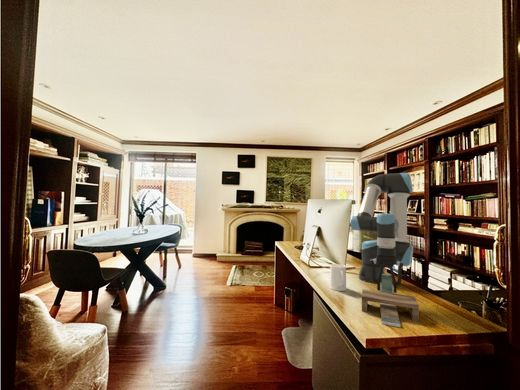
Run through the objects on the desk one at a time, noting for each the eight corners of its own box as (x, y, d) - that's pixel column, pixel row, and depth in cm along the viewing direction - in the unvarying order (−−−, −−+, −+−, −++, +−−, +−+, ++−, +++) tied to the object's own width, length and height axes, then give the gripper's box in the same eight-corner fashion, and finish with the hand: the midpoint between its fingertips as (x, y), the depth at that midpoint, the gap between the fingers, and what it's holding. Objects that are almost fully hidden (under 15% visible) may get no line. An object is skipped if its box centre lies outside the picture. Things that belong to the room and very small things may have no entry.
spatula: (379, 299, 113) (379, 273, 114) (394, 302, 110) (393, 275, 111) (380, 315, 95) (380, 284, 96) (398, 318, 92) (397, 286, 93)
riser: (362, 302, 109) (362, 289, 109) (414, 311, 101) (414, 296, 101) (361, 311, 100) (361, 296, 100) (418, 321, 92) (418, 305, 92)
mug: (350, 293, 121) (350, 269, 121) (333, 293, 121) (333, 268, 122) (344, 286, 132) (343, 263, 133) (328, 285, 133) (328, 263, 134)
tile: (381, 318, 95) (381, 314, 95) (398, 321, 92) (398, 317, 92) (381, 325, 89) (381, 320, 89) (400, 328, 87) (400, 324, 87)
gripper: (365, 246, 111) (366, 298, 110) (408, 249, 104) (409, 305, 103) (366, 244, 118) (366, 293, 117) (406, 247, 111) (407, 299, 110)
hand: (386, 298), depth 110 cm, fingers closed on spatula, 4 cm apart
